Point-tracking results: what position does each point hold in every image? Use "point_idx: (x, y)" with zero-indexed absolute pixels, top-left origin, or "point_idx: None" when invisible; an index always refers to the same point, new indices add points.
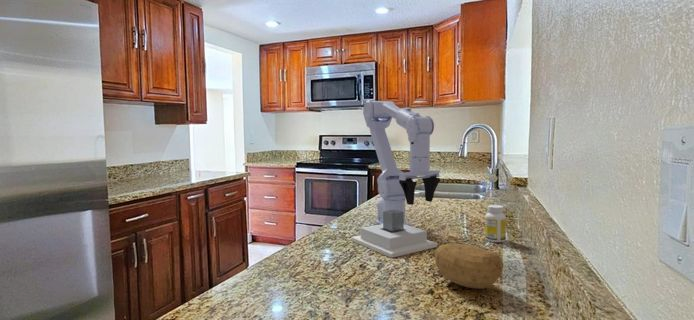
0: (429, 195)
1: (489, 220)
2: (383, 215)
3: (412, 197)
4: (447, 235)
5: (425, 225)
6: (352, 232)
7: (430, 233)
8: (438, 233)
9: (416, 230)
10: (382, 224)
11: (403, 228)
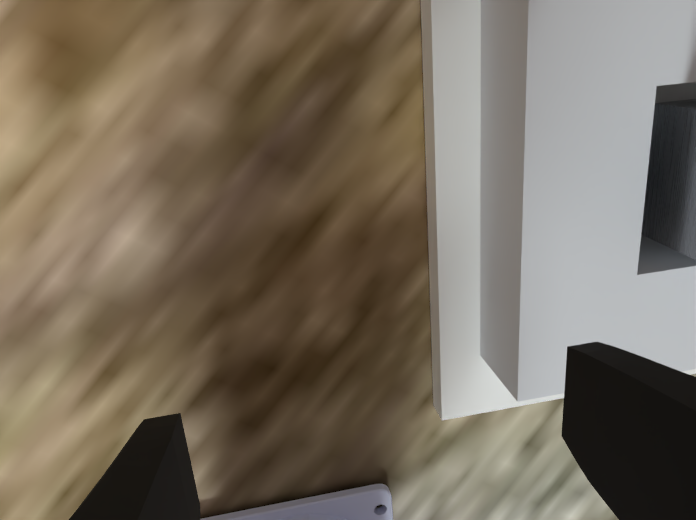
0: (172, 518)
1: None
2: None
3: (689, 380)
4: (70, 122)
5: (59, 485)
6: None
7: (185, 254)
8: (112, 221)
9: (602, 16)
10: (674, 361)
11: (690, 108)
